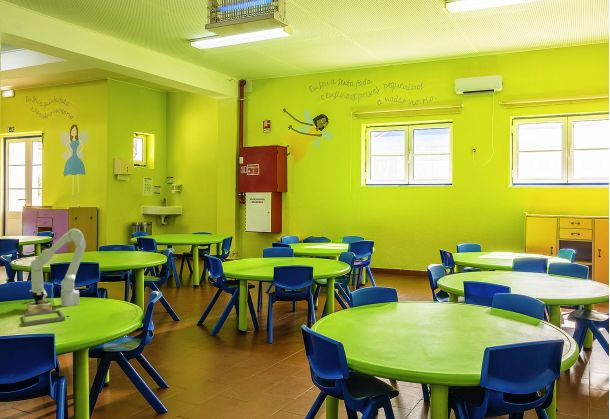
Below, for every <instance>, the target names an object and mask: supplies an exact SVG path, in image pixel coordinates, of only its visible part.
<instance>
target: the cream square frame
mask: <svg viewBox="0 0 610 419" xmlns="http://www.w3.org/2000/svg"><path fill="white" fill-rule="evenodd" d="M52 306H53V304H52V302H51V300H50V299H47V300H43V301H42V304H40V305H36V302H35V301H32V302H31V301H29V302H27V303H26V309H27V310H28V313H29V314H32V313H40V312H47V311H52Z"/></svg>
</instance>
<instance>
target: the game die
mask: <svg viewBox="0 0 610 419" xmlns="http://www.w3.org/2000/svg"><path fill="white" fill-rule="evenodd" d="M33 293H35V292H33ZM43 294H44V296H43V298H42V301H44V300H43V299H45V298H47V297H49V296H50V295H49V294H48V293H47V291H46V287H44V291H43Z"/></svg>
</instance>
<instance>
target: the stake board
mask: <svg viewBox="0 0 610 419" xmlns="http://www.w3.org/2000/svg"><path fill="white" fill-rule="evenodd" d="M37 302H38V305H40V304H41V302H42V300H39V301H37ZM55 310H57V309H56V308H55V307H54V305H52V311H55ZM22 311H23V315H24V314H29V313H28V310H27V308H26V309H25V308H24V309H23V310H22Z"/></svg>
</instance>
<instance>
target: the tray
mask: <svg viewBox="0 0 610 419" xmlns="http://www.w3.org/2000/svg"><path fill="white" fill-rule="evenodd" d="M57 313H58V314H59V316H57V317H50V318H42V319H34V320H28V321H27V318H26V317H34V316H41V315H49V314H57ZM21 317H22V318H21V319H22V320H23V325H24V327H29V326H31V327H32V326H36V325H37V326H38V325H45V324H50V323H52V324H53V323H58V322H57V321H59V322H64V320H65V321H66V317H65V315H64V313H63V312H62V310H61V309H56V310H55V311H47V312H40V313H32V314H24V313H23V314H22V315H21Z"/></svg>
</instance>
